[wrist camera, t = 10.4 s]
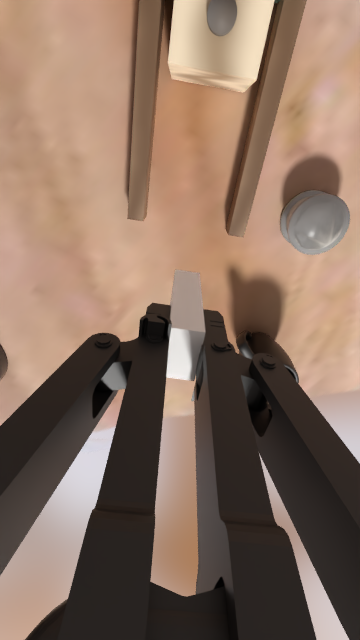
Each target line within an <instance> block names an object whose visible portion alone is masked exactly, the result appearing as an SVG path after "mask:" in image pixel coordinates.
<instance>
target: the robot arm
mask: <svg viewBox="0 0 360 640" xmlns="http://www.w3.org/2000/svg"><path fill="white" fill-rule="evenodd" d="M7 367H8V363H7V358H6V355H5V353H4V351H3V349H2V347H1V346H0V380H1V379H2V378H3V376H4V375H5V373H6V371H7ZM195 375H196V383H195V387H194V392H193V396H192V400H191V401H194V402H195V439H196V476H197V477H196V480H197V518H198V554H199V555H198V557H199V561H198V562H199V564H198V575H197V582H196V595H192V596H188V597H185V596H181V595H178V594H176V593H174V592H172V591H170V590H167V589H165V588H163V587H161V586H158V585H156V584H154V583H152V582H150V578H151V566H152V554H153V553H152V552H153V542H154V529H155V500H156V488H157V476H158V465H159V454H160V442H161V431H162V419H163V408H164V396H165V385H166V377H167V378H175V379H183V380H191V381H194V380H195ZM119 389H125V392H124V396H123V400H122V404H121V408H120V412H119V416H118V420H117V424H116V428H115V432H114V436H113V440H112V444H111V448H110V452H109V456H108V460H107V464H106V468H105V472H104V476H103V480H102V484H101V488H100V492H99V496H98V500H97V503H96V506H95V508H94V509H93V510H92V513H91V515H90V518H89V522H88V525H87V529H86V532H85V536H84V540H83V544H82V548H81V552H80V555H79V559H78V563H77V567H76V571H75V574H74V578H73V582H72V586H71V590H70V593H69V597H68V599H67V600H65V601H64V602H63V603H61V604H60V605H59V606H57V607H56V608H55V609H53V610H52V611H51V612H50V613H49V614H48V615H47V616H46V617H45V618H44V619H43V620H42V621H41V622H40V623H39V624H38V625H37V627H35V629H34V630H33V631H32V632H31V633H30V634H29V636H28V637H27V638H26V639H25V640H316V636H315V632H314V628H313V624H312V621H311V617H310V613H309V609H308V605H307V602H306V598H305V594H304V590H303V586H302V583H301V579H300V575H299V571H298V567H297V563H296V559H295V556H294V552H293V548H292V545H291V542H290V539H289V536H288V535H287V533H286V531H285V530H284V529H283V528H281V527H280V526H278V525H277V524H276V522H275V519H274V516H273V512H272V508H271V504H270V499H269V495H268V491H267V486H266V482H265V478H264V473H263V469H262V465H261V460H260V456H259V453H260V455H261V458H262V460H263V462H264V464H265V466H266V468H267V470H268V472H269V474H270V476H271V478H272V481H273V483H274V485H275V487H276V489H277V491H278V493H279V495H280V497H281V499H282V501H283V503H284V506H285V508H286V510H287V512H288V514H289V516H290V518H291V520H292V522H293V524H294V526H295V528H296V531H297V533H298V535H299V536H300V539H301V541H302V543H303V545H304V547H305V549H306V551H307V553H308V555H309V558H310V560H311V562H312V564H313V566H314V568H315V570H316V572H317V574H318V576H319V578H320V580H321V583H322V585H323V587H324V589H325V591H326V593H327V595H328V597H329V599H330V601H331V603H332V605H333V608H334V609H335V612H336V614H337V616H338V618H339V620H340V622H341V624H342V626H343V628H344V630H345V631H346V634H347V636H348V638H349V640H360V464H359V462H358V461H357V460H356V458H355V457H354V456H353V454H352V453H351V452H350V451H349V449H348V448H347V447H346V445H345V444H344V443H343V441H342V440H341V439H340V437H339V436H338V435H337V434H336V432H335V431H334V430H333V428H332V427H331V426H330V424H329V423H328V422H327V421H326V419H325V418H324V417H323V416H322V414H321V413H320V411H319V410H318V409H317V408H316V406H315V405H314V404H313V402H312V401H311V400H310V398H309V397H308V396H307V395H306V393H305V392H304V391H303V389H302V388H301V387H300V385H299V384H298V383H297V382H296V380H295V379H294V378H293V376H292V375H291V374H290V372H289V371H288V370H287V369H286V367H285V366H284V365H283V363H282V362H281V361H280V360H279V359H278V358H276V357H274V356H272V355H269V354H266V353H258V354H255V355H254V356H253V358H252V359H249V358H247V357H244V356H241V355H239V354H237V353H236V352H235V349H234V347H233V345H232V344H231V343H230V342H228V339H227V334H226V329H225V325H224V320H223V316H222V315H221V314H220V313H219V312H218V311H211V310H204V309H203V302H202V292H201V282H200V273H196V272H190V271H183V270H176V269H175V275H174V282H173V288H172V295H171V302H170V305H164V304H157V303H152V304H151V305H150V306H148V307H147V311H146V315H145V316H143V317H142V318H141V319H140V327H139V337H138V338H136V339H135V340H132V341H127V342H120V340H119V338H118V337H117V336H115V335H113V334H109V333H98V334H95V335H92V336H91V337H89V338H88V339H87V340H86V341H85V342H84V343H83V344H82V345H81V346H80V347H79V348H78V349H77V350H76V351H75V352H74V353H73V354H72V355H71V356H70V357H69V358H68V359H67V360H66V361H65V362H64V363H63V364H62V365H61V366H60V367H59V368H58V369H57V370H56V371H55V372H54V373H53V374H52V375H51V376H50V377H49V378H48V379H47V380H46V381H45V382H44V383H43V384H42V385H41V386H40V387H39V388H38V389H37V390H36V391H35V392H34V393H33V394H32V395H31V396H30V397H29V398H28V399H27V400H26V401H25V402H24V403H23V404H22V405H21V406H20V407H19V408H18V409H17V410H16V411H15V412H14V413H13V414H12V415H11V416H10V417H9V418H8V419H7V420H6V421H5V422H4V423H3V424H2V425H1V426H0V575H1V573H2V572H3V570H4V569H5V567H6V566H7V564H8V563H9V561H10V559H11V558H12V556H13V555H14V553H15V552H16V550H17V549H18V547H19V545H20V544H21V542H22V541H23V539H24V538H25V536H26V535H27V533H28V531H29V530H30V528H31V527H32V525H33V524H34V522H35V520H36V519H37V517H38V516H39V514H40V513H41V511H42V510H43V508H44V506H45V505H46V503H47V501H48V500H49V498H50V497H51V495H52V494H53V492H54V491H55V489H56V488H57V486H58V484H59V483H60V481H61V480H62V478H63V477H64V475H65V474H66V472H67V470H68V469H69V467H70V466H71V464H72V463H73V461H74V459H75V458H76V456H77V455H78V453H79V452H80V450H81V449H82V447H83V446H84V444H85V442H86V441H87V439H88V438H89V436H90V435H91V433H92V431H93V430H94V428H95V427H96V425H97V424H98V422H99V421H100V419H101V417H102V416H103V414H104V413H105V411H106V410H107V408H108V406H109V405H110V403H111V402H112V400H113V399H114V397H115V396H116V394H117V391H118V390H119ZM258 451H259V452H258Z"/></svg>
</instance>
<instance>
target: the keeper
mask: <svg viewBox="0 0 360 640" xmlns="http://www.w3.org/2000/svg"><path fill="white" fill-rule="evenodd" d="M274 1H275V0H174V5H173V15H172V26H171V36H170V46H169V56H168V65H169V69H170V73H171V77H172V79H174V80H180V81H185V82H190V83H196V84H201V85H206V86H211V87H217V88H222V89H227V90H232V91H238V92H243V93H244V92H245V91H246V90H247V89H248V88H249V87H250V86H251V85H252V84H253V83H254V82H255V81H256V80H257V76H258V72H259V67H260V63H261V58H262V54H263V49H264V45H265V41H266V36H267V32H268V27H269V23H270V18H271V14H272V9H273V5H274Z"/></svg>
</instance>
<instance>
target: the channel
mask: <svg viewBox="0 0 360 640" xmlns="http://www.w3.org/2000/svg"><path fill="white" fill-rule="evenodd" d="M306 1H307V0H275V1H274V3H278V5H277V9H276V14H275V18H274V22H273V27H272V31H271V35H270V40H269V44H268V48H267V53H266V57H265V61H264V66H263V70H262V74H261V79H260V83H259V87H258V92H257V96H256V100H255V105H254V109H253V113H252V118H251V122H250V126H249V131H248V135H247V139H246V144H245V148H244V152H243V157H242V161H241V165H240V170H239V174H238V179H237V183H236V187H235V192H234V196H233V200H232V205H231V209H230V213H229V218H228V222H227V226H226V231H227V233H228V235H231V236H237V237H244V234H245V230H246V226H247V223H248V219H249V215H250V211H251V208H252V204H253V200H254V196H255V193H256V189H257V185H258V181H259V177H260V174H261V170H262V166H263V162H264V159H265V155H266V151H267V147H268V144H269V140H270V136H271V132H272V129H273V125H274V121H275V117H276V114H277V110H278V106H279V102H280V98H281V95H282V91H283V87H284V83H285V80H286V76H287V72H288V68H289V65H290V61H291V57H292V53H293V50H294V46H295V42H296V38H297V35H298V31H299V27H300V23H301V20H302V16H303V12H304V8H305V4H306ZM164 6H165V0H139V15H138V34H137V52H136V71H135V89H134V108H133V126H132V145H131V164H130V182H129V201H128V219H132V220H138V221H144V219H145V218H146V214H147V203H148V191H149V180H150V168H151V156H152V145H153V133H154V122H155V110H156V99H157V87H158V75H159V64H160V52H161V41H162V29H163V18H164Z"/></svg>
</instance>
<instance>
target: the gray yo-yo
mask: <svg viewBox="0 0 360 640" xmlns="http://www.w3.org/2000/svg"><path fill="white" fill-rule="evenodd" d="M349 221H350V213H349V209H348V207H347V205H346V203H345V202H344V201H343V200H342V199H340V198H339V197H337V196H334V195H331V194H327V193H325V192H322V191H319V190H309V191H305V192H302V193H300V194H298V195H296V196H295V197H294V198H292V199H291V200H290V201H289V203H288V204H287V205H286V207H285V208H284V210H283V212H282V215H281V219H280V229H281V232H282V234H283V236H284V238H285V239H286V240H287V241H288V242H289V243H291V244H292V245H293V247H294V248H296V249H297V250H298V251H300V252H302V253H304V254H310V255H315V254H320V253H323V252H326V251H328V250H330V249H331V248H333V247H334V246H335V245H337V244H338V243H339V242H340V241H341V239H342V238H343V237H344V235H345V233H346V231H347V229H348V226H349Z"/></svg>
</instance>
